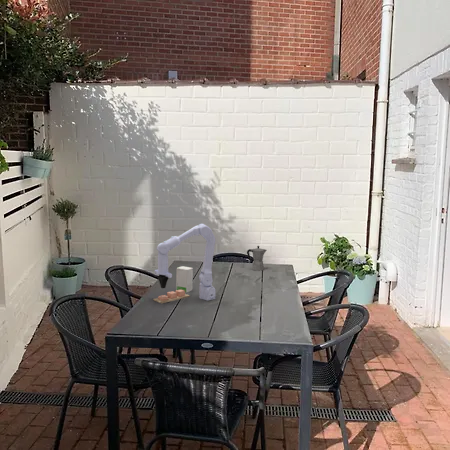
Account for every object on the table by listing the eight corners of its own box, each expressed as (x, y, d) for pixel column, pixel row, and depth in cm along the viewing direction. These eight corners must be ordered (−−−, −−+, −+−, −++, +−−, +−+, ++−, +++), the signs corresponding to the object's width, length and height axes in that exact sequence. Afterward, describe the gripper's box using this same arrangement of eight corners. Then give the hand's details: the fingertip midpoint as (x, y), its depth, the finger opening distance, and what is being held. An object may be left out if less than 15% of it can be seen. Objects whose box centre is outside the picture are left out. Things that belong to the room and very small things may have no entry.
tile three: (168, 302, 271) (168, 296, 270) (162, 303, 268) (162, 297, 268) (164, 300, 274) (164, 294, 273) (158, 302, 271) (158, 295, 270)
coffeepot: (264, 267, 362) (264, 244, 360) (268, 270, 353) (268, 246, 351) (244, 268, 359) (245, 245, 356) (248, 271, 350) (248, 247, 347)
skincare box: (175, 292, 291) (175, 267, 289) (181, 290, 297) (181, 265, 295) (187, 294, 287) (187, 269, 285) (193, 292, 293) (193, 267, 291)
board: (189, 298, 279) (189, 295, 278) (161, 305, 265) (161, 302, 265) (181, 296, 284) (181, 292, 284) (153, 302, 271) (153, 299, 271)
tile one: (185, 296, 279) (185, 290, 278) (179, 297, 276) (179, 291, 275) (180, 295, 282) (180, 289, 281) (175, 296, 279) (175, 290, 278)
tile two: (176, 298, 275) (176, 292, 274) (171, 299, 272) (171, 293, 271) (172, 297, 278) (172, 291, 277) (167, 298, 275) (166, 292, 274)
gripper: (149, 263, 271) (150, 286, 272) (164, 267, 260) (164, 291, 262) (160, 261, 275) (160, 284, 277) (175, 265, 265) (175, 289, 266)
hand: (163, 287), depth 270 cm, fingers closed
